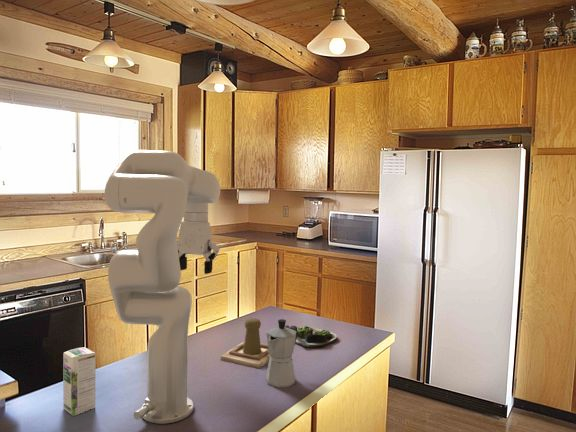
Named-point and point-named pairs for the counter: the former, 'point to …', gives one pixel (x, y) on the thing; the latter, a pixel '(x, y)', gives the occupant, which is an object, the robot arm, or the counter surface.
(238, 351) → the maple board
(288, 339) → the coffee maker
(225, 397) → the counter surface
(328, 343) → the salad plate
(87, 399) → the syrup box
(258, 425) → the counter surface
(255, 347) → the cork
